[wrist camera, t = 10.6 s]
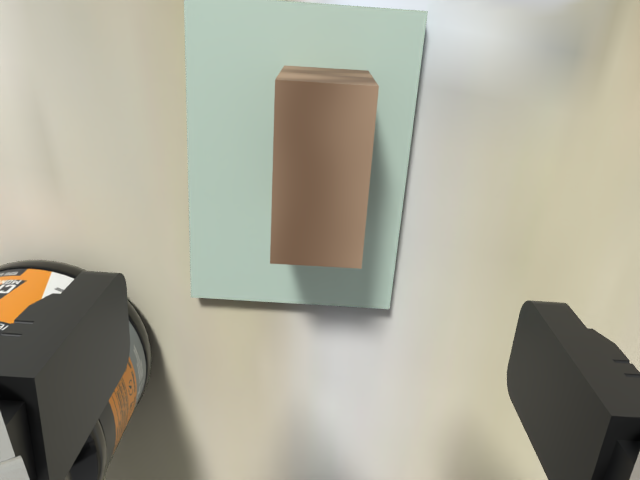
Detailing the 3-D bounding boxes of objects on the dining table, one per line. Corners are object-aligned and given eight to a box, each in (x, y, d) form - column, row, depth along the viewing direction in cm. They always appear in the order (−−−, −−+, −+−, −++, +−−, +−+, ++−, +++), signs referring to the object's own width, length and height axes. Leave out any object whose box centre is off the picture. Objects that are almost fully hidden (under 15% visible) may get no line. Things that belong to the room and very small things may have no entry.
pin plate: (423, 10, 24) (436, 11, 22) (387, 299, 30) (394, 330, 27) (189, -6, 24) (171, -7, 21) (195, 287, 30) (181, 317, 27)
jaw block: (368, 70, 24) (378, 86, 20) (354, 223, 27) (361, 268, 22) (284, 65, 24) (275, 79, 20) (278, 219, 27) (270, 263, 22)
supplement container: (136, 243, 29) (18, 394, 18) (174, 412, 33) (97, 622, 22) (-68, 259, 29) (-310, 416, 18) (-6, 424, 33) (-172, 636, 22)
